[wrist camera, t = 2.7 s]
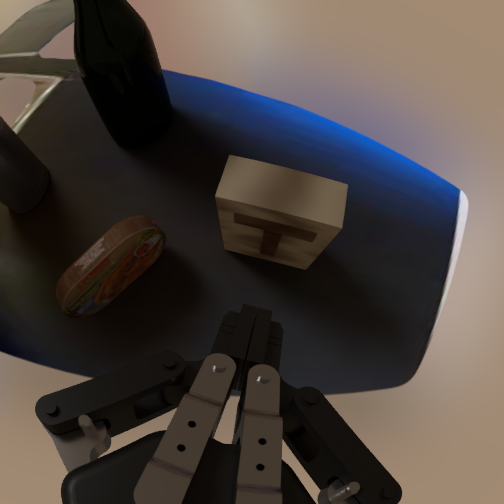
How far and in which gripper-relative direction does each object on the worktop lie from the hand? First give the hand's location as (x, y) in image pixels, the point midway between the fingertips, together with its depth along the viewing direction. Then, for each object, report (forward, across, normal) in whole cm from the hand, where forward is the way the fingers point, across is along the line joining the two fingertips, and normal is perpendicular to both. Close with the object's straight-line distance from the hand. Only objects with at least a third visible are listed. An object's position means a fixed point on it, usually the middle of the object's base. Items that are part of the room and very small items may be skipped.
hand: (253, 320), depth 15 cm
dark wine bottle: (+31, +24, -4) cm, 39 cm away
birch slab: (+21, 0, +6) cm, 22 cm away
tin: (+15, +17, +12) cm, 26 cm away
